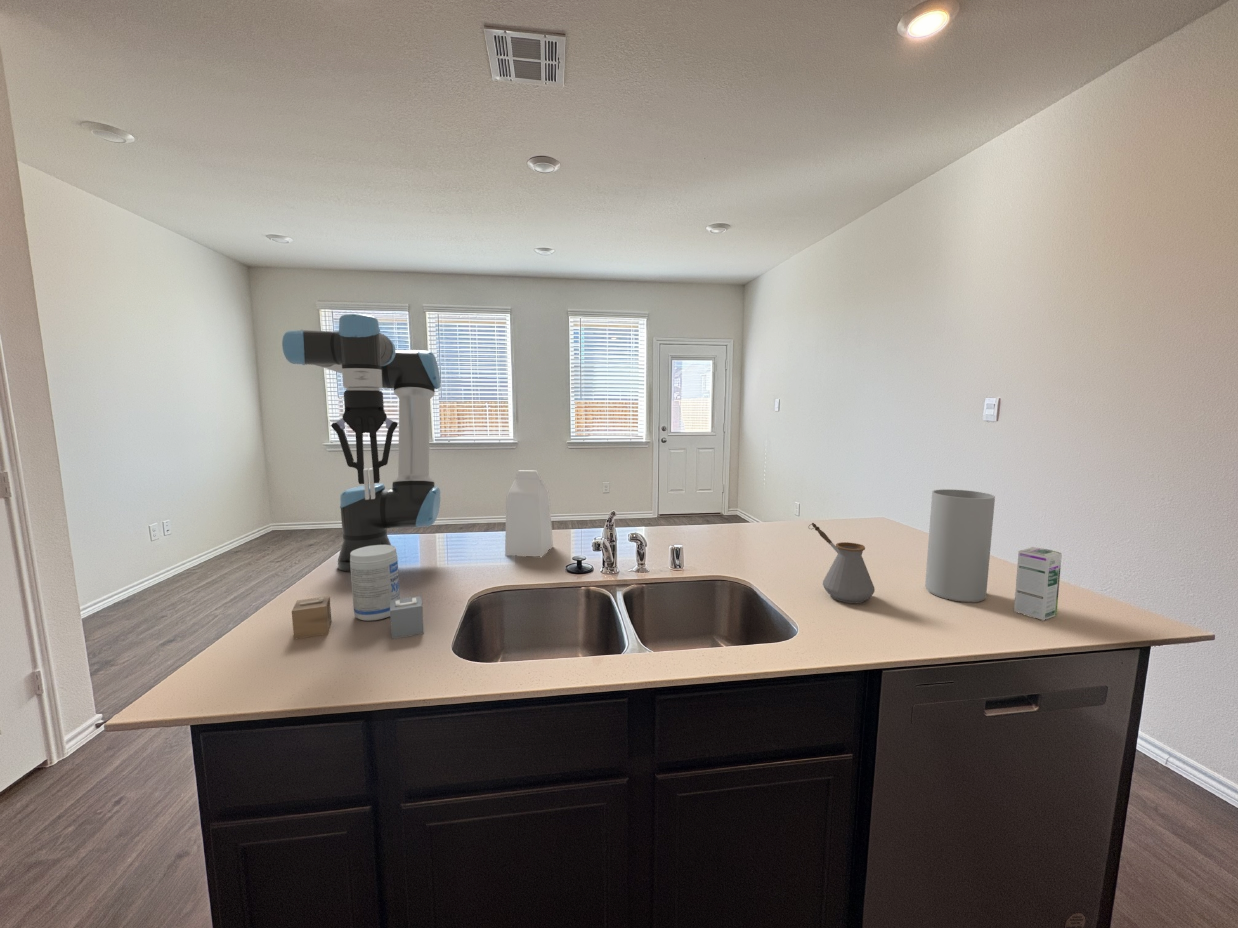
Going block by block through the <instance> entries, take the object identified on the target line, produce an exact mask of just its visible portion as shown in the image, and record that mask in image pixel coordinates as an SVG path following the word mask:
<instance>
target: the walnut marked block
mask: <svg viewBox="0 0 1238 928" xmlns="http://www.w3.org/2000/svg"><path fill="white" fill-rule="evenodd" d="M291 619H292V629H293V631H292V632H293V639H294V640H297V639H296V638H299V639H303V638H304V639H305V638H310V637H309V636H311V637H316V636H322V634H323V635H328V634H329V633H330V630H329V629H331V626H332V623H333V621H332V609H331V596H330V595H328V596H327V595H326V596H319V597H313V598H304V599H297V600H296V602H295V603H294V606H293V608H292V610H291Z"/></svg>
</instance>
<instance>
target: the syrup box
mask: <svg viewBox="0 0 1238 928" xmlns="http://www.w3.org/2000/svg"><path fill="white" fill-rule="evenodd" d="M1062 554H1063V553H1061V552H1059V551H1057V550H1056V551H1055V550H1052V549H1047V548H1042V547H1035V546H1031V547H1030V548H1029V547H1028V548H1025V549H1020V550H1018V556H1017V569H1016V578H1015V593H1014V596H1015V597H1014V607H1013V609H1014V610H1013V611H1014V612H1015V611H1016V612H1015V613H1017V612H1019V613H1018V614H1020V613H1022V614H1025V615H1029V616H1031V617H1030V618H1032V617H1035V618H1038V619H1042V620H1045V619H1046V620H1048V619H1049V620H1050V619H1051V618H1054V617H1056V616H1057V615H1058V603H1059V592H1060V589H1059V588H1060V579H1061V568H1062V566H1061V565H1062ZM1022 614H1021V615H1022ZM1025 615H1024V616H1025ZM1035 618H1034V619H1035ZM1038 619H1037V620H1038ZM1042 620H1041V621H1042ZM1046 620H1045V621H1046Z"/></svg>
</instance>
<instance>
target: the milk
mask: <svg viewBox="0 0 1238 928" xmlns="http://www.w3.org/2000/svg"><path fill="white" fill-rule="evenodd" d="M548 489H549V488H548V487H547V486H546V484H545V483H544V481H543V480H542V479H541V476H540V473H539V471H538V470H536V469H535V470H532V469H531V470H525V469H524V470H523V469H519V470H517V472H516V475H515V477H514V480H513V482H512V484H511V486H510V488H509V489H508V492H507V495H506V499H505V500H506V501H505V539H504V540H505V544H504V545H505V547H504V556H506V555H517V556H516V557H526V556H543V555H544V554H545V553H546V552H547V551H548V550H549V549H550V550H552V549H553V547H554V544H553V542H554V541H553V528H552V527H553V526H552V514H551V513H552V511H551V502H550V501H551V499H550V492H549V490H548ZM552 546H553V547H552ZM550 550H549V551H550ZM549 551H548V552H549ZM548 552H547V553H548ZM547 553H546V554H547ZM546 554H545V555H546ZM545 555H544V556H545ZM544 556H543V557H544Z"/></svg>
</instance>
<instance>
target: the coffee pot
mask: <svg viewBox="0 0 1238 928" xmlns="http://www.w3.org/2000/svg"><path fill="white" fill-rule="evenodd" d="M811 526H812V528H811ZM808 529H809V530H814V531H816V532H817V533H818V534H819V536H820V537H821V538H822V539H823V540H824V541H825V542H826V543H827V544H828V545H830V547H831V548H832V549H833V550H834V551H835V553H837V555H836V557H835V559H834V560H833V562H832V564H831V566H830V567H829V569H828V571H827V573H826V575H825V576H824V579H823V580H822V586H823V588H824V590H825V591H826V592H827V593H828V594H829V595H830V597H831V598H833V599H834V600H836V601H840V602H842V603H846V604H847V603H848V604H862V603H864V602H865V601H866V600H868V599H870V598H871V597H872V596H873V595H874V593H875V592H876V591H875V590H876V589H875V586H874V584H873V581H872V579H871V576H870V573H869V570H868V568H867V565H866V563H865V560H864V558H863V556H862V555H863V552H864V551H865V549H866V547H865V545H864V544H861V543H860V544H859V543H856V542H848V541H847V542H843V541H842V542H837V543H836V544H834V543H833V541H832V540H831V539H830V538H829V536H828V535H827V534H826V533H825V532H824V531H823V530H821V528H820V527H819V526H817V524H816V523H814V522H811V524H808Z"/></svg>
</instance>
